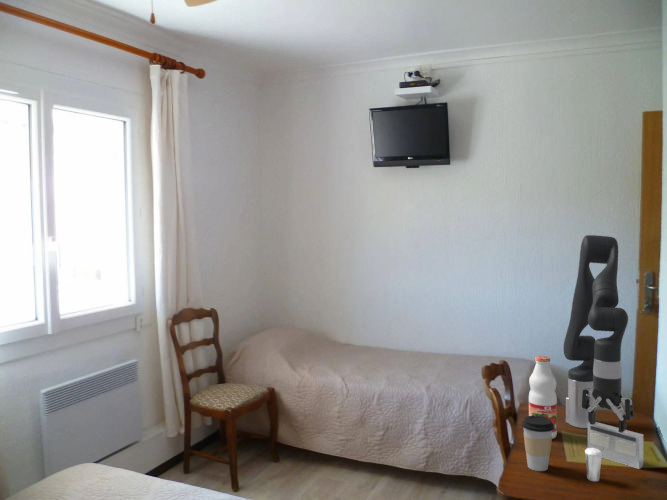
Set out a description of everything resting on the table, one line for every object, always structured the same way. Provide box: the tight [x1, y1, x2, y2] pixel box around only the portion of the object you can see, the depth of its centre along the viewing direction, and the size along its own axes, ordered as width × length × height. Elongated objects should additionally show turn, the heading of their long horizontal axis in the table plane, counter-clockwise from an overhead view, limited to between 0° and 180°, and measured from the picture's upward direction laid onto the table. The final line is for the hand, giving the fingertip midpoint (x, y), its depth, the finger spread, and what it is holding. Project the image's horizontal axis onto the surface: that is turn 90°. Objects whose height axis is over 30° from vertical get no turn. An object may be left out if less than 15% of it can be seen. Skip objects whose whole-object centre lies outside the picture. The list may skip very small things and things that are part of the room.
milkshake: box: [584, 446, 605, 482], centre depth 165 cm, size 4×5×10 cm
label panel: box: [587, 421, 644, 470], centre depth 178 cm, size 16×3×10 cm, turn 39°
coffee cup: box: [521, 415, 554, 472], centre depth 174 cm, size 9×9×15 cm
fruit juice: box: [528, 355, 558, 440], centre depth 199 cm, size 9×9×28 cm
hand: (606, 427), depth 167 cm, fingers open, 8 cm apart
